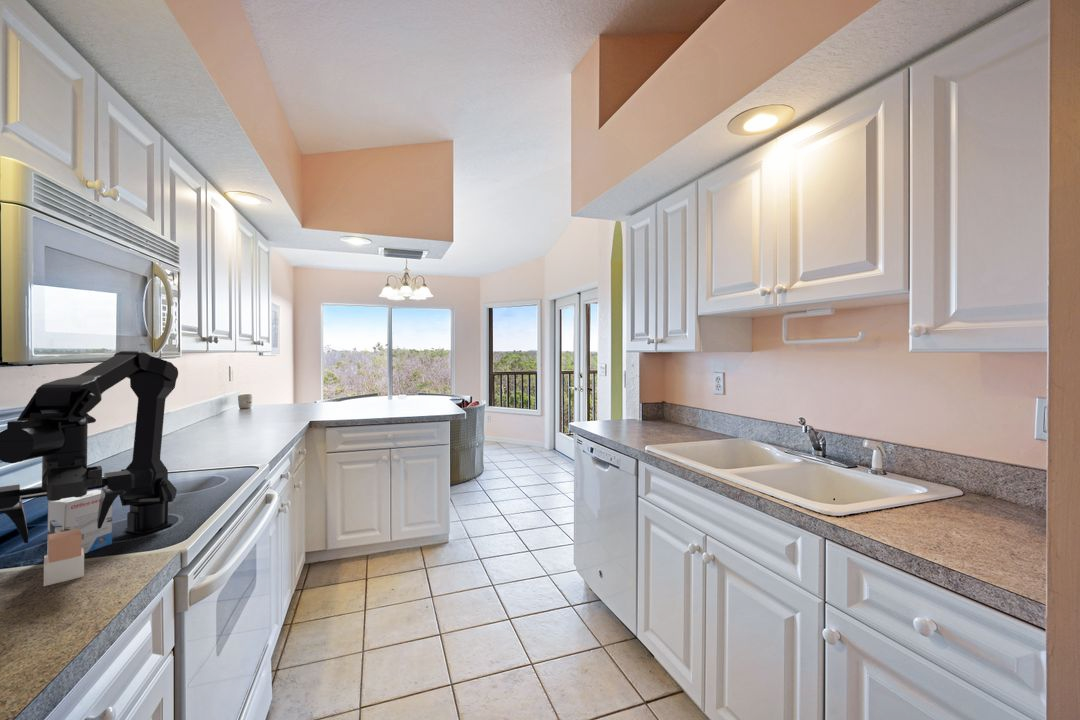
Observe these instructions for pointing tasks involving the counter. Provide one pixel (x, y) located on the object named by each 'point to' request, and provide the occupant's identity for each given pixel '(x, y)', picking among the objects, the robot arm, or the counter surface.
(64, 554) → the terracotta cube
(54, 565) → the off-white block
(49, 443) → the robot arm
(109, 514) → the ink box
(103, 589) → the counter surface
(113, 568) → the counter surface
